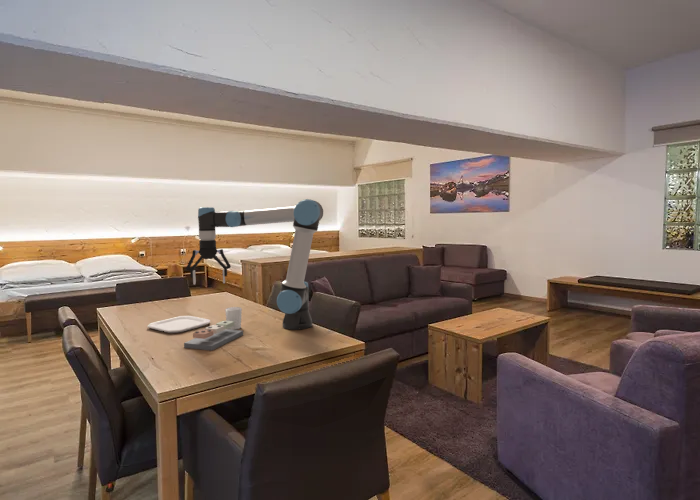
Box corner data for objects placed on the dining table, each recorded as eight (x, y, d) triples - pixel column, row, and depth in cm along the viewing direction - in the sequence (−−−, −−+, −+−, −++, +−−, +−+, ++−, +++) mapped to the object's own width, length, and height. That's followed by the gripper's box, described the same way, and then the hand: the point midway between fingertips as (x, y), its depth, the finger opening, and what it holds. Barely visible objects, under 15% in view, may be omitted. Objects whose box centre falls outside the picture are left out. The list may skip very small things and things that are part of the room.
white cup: (237, 330, 203) (237, 310, 203) (222, 329, 205) (222, 310, 204) (244, 326, 211) (244, 307, 210) (230, 325, 213) (230, 306, 212)
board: (243, 334, 196) (243, 330, 196) (211, 350, 173) (211, 345, 173) (218, 332, 200) (217, 328, 200) (184, 347, 178) (183, 342, 178)
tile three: (213, 334, 181) (213, 329, 181) (204, 338, 175) (204, 333, 175) (202, 333, 183) (201, 328, 183) (193, 337, 177) (192, 332, 177)
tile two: (224, 330, 188) (224, 325, 188) (216, 333, 183) (216, 328, 183) (213, 329, 190) (213, 324, 190) (204, 332, 185) (204, 327, 184)
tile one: (234, 325, 196) (234, 320, 196) (227, 328, 190) (226, 324, 190) (223, 324, 198) (223, 319, 198) (215, 327, 192) (215, 323, 192)
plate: (173, 336, 195) (173, 331, 195) (142, 329, 208) (142, 324, 208) (215, 324, 216) (215, 320, 216) (185, 318, 229) (185, 314, 229)
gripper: (235, 238, 204) (236, 281, 205) (181, 239, 198) (183, 283, 200) (234, 239, 196) (235, 283, 198) (178, 240, 191) (180, 286, 193)
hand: (209, 283), depth 199 cm, fingers open, 13 cm apart
